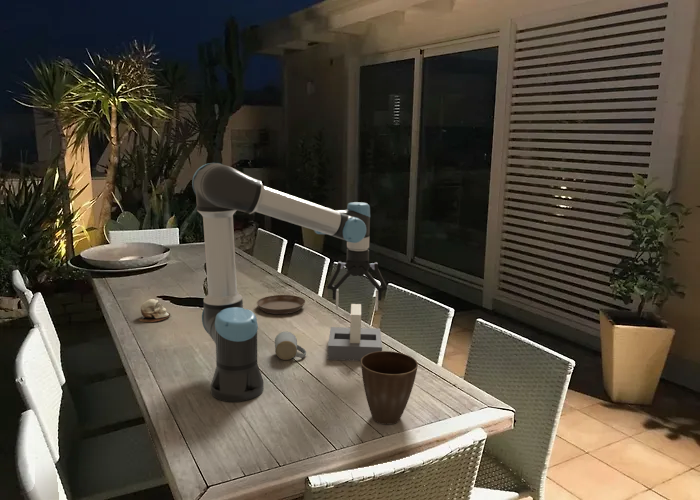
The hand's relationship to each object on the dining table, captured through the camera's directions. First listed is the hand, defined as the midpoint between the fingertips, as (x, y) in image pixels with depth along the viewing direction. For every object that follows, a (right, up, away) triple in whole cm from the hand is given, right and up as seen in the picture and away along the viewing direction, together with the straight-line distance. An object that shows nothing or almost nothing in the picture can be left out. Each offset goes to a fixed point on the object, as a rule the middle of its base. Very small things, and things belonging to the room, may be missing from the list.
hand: (356, 308), depth 190 cm
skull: (-80, -7, +30) cm, 86 cm away
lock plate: (-1, -15, +3) cm, 15 cm away
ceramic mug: (-23, -16, -3) cm, 28 cm away
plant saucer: (-32, -5, +46) cm, 57 cm away
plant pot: (+8, -25, -42) cm, 49 cm away
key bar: (-1, -10, +2) cm, 10 cm away
